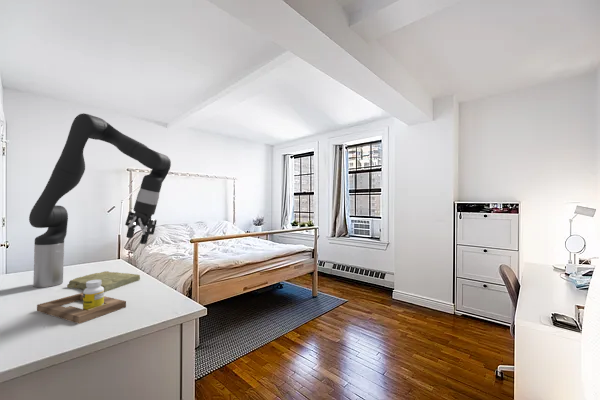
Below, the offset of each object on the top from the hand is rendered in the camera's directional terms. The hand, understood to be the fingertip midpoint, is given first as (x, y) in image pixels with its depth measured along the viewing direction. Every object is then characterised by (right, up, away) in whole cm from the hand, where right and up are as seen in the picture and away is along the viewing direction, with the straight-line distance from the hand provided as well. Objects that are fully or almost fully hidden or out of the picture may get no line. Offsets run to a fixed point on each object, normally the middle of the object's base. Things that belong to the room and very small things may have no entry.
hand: (135, 240), depth 108 cm
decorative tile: (-19, -21, +9) cm, 29 cm away
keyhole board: (-6, -20, -19) cm, 28 cm away
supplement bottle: (-2, -20, -20) cm, 29 cm away
